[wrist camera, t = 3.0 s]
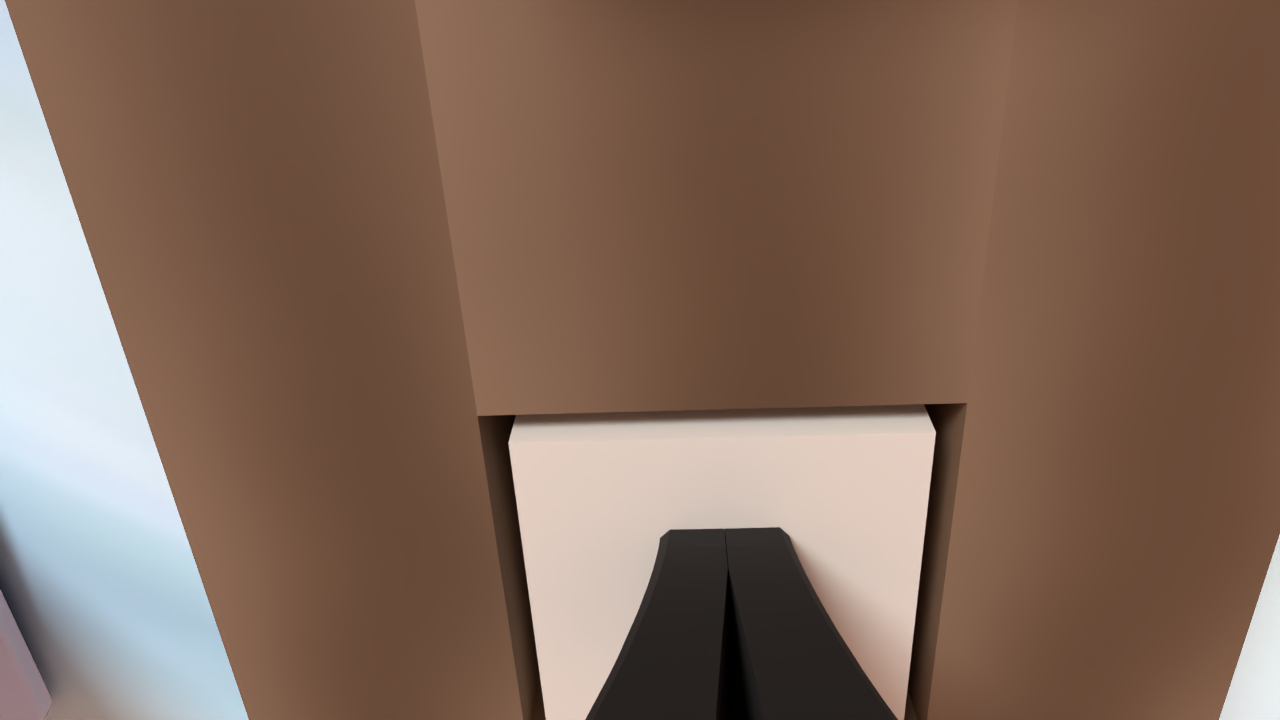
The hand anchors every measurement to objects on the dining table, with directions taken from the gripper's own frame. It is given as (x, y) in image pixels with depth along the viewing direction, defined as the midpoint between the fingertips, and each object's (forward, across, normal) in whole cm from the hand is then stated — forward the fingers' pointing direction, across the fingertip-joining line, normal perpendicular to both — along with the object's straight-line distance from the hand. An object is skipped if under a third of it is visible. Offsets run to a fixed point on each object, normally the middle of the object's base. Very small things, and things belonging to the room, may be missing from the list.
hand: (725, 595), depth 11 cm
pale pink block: (+3, 0, 0) cm, 3 cm away
